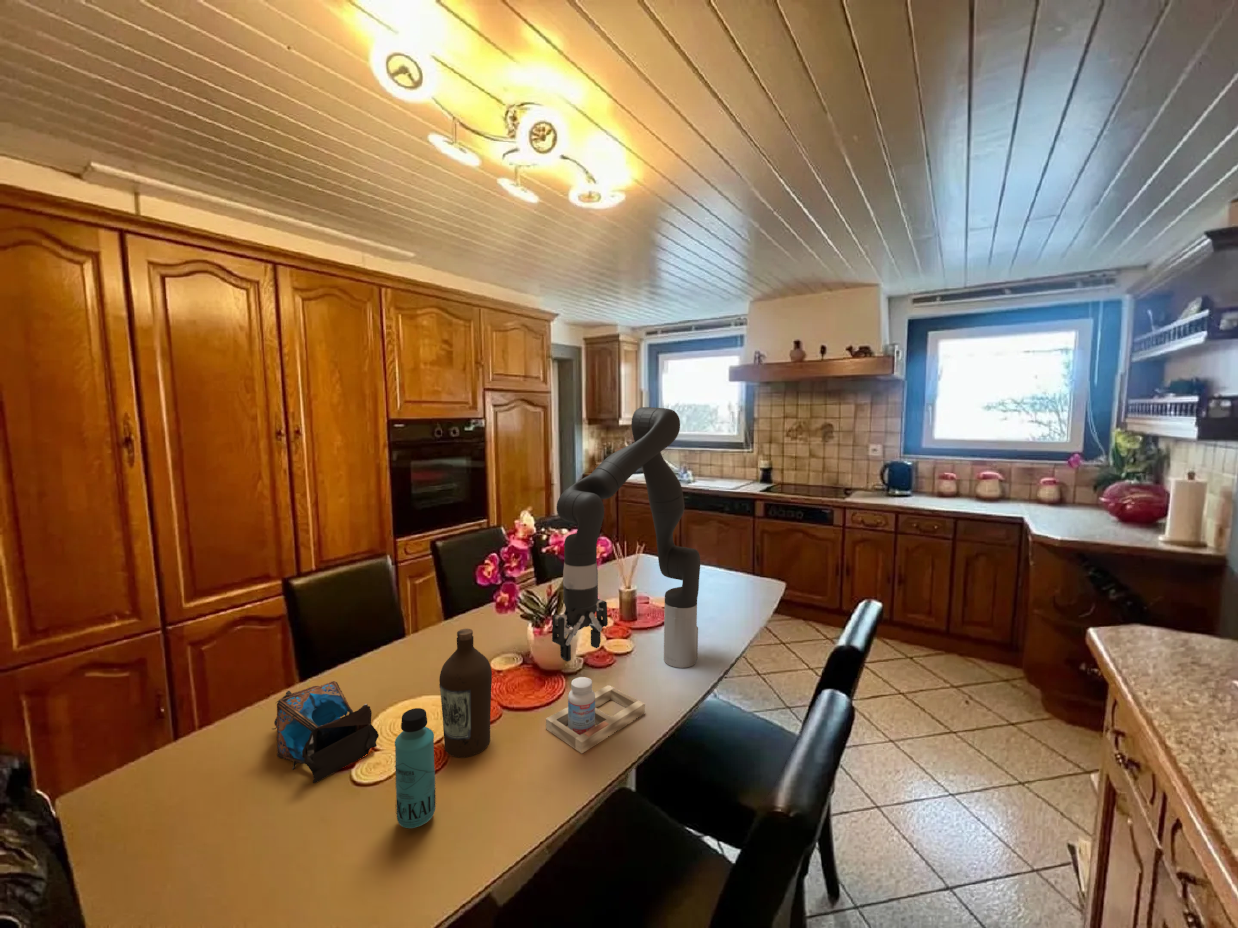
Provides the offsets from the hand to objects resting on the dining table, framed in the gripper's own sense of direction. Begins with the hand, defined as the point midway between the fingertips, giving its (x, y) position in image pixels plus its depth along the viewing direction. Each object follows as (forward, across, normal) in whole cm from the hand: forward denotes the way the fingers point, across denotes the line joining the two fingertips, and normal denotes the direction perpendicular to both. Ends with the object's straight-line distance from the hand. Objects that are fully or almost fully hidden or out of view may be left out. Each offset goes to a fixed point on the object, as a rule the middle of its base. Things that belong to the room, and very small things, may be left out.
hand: (581, 653), depth 113 cm
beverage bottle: (+18, +37, -1) cm, 41 cm away
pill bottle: (+18, 0, 0) cm, 18 cm away
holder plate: (+18, -5, 0) cm, 19 cm away
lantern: (+18, +43, -35) cm, 58 cm away
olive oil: (+18, +20, -14) cm, 31 cm away
